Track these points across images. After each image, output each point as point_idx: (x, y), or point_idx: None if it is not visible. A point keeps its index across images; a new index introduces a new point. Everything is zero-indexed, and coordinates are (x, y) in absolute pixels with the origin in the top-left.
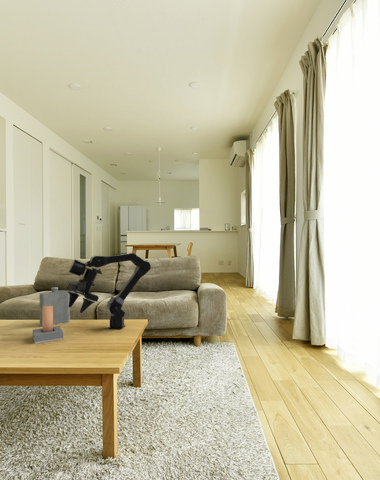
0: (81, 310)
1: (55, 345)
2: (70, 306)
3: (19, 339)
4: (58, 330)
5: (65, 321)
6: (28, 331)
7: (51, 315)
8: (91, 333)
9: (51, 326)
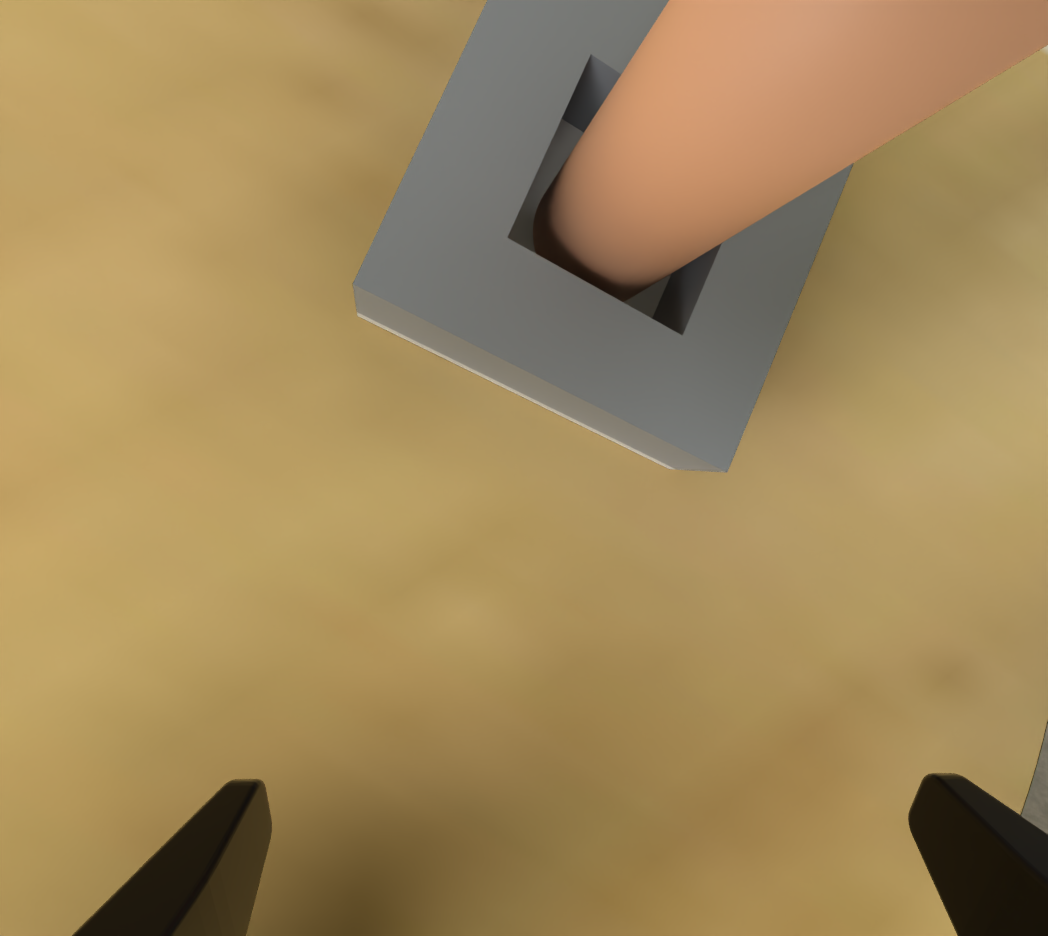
0: (157, 858)
1: (142, 38)
2: (932, 831)
3: None
4: (476, 280)
5: (1043, 822)
6: (1033, 321)
7: (705, 32)
8: (242, 750)
9: (587, 177)
